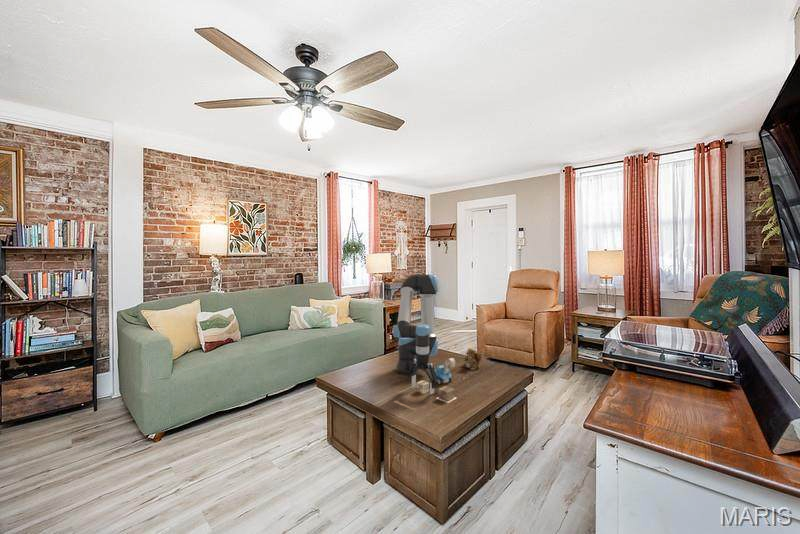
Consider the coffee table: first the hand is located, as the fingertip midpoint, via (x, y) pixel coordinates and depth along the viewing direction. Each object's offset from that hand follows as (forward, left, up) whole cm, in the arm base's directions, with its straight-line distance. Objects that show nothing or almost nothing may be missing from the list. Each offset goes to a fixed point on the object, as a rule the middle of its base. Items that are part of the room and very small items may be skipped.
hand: (422, 390), depth 188 cm
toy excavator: (+1, +19, -2) cm, 19 cm away
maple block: (0, 0, -2) cm, 2 cm away
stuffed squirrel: (-3, +55, -2) cm, 56 cm away
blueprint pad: (+13, +4, -2) cm, 14 cm away
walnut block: (+15, +2, -1) cm, 15 cm away
